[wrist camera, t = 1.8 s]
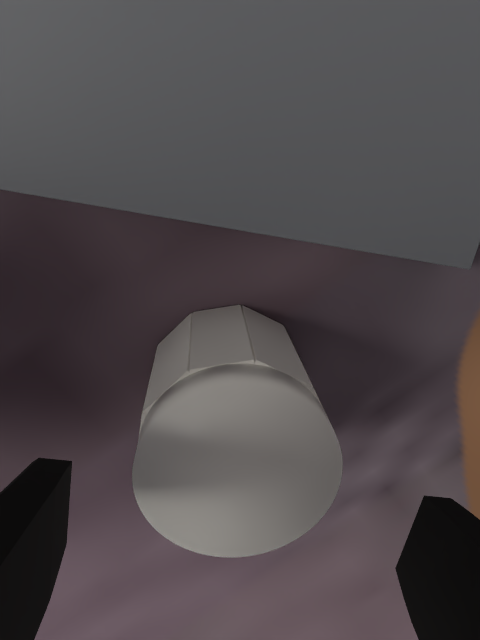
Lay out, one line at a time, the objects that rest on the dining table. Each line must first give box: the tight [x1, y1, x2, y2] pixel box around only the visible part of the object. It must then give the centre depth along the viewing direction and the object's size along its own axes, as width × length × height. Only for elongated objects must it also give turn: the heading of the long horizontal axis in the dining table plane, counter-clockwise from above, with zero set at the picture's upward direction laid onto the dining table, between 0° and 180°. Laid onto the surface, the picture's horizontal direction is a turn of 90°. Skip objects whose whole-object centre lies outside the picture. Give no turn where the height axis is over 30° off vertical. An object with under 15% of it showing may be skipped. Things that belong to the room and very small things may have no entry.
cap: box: [132, 305, 343, 557], centre depth 13 cm, size 5×5×5 cm
